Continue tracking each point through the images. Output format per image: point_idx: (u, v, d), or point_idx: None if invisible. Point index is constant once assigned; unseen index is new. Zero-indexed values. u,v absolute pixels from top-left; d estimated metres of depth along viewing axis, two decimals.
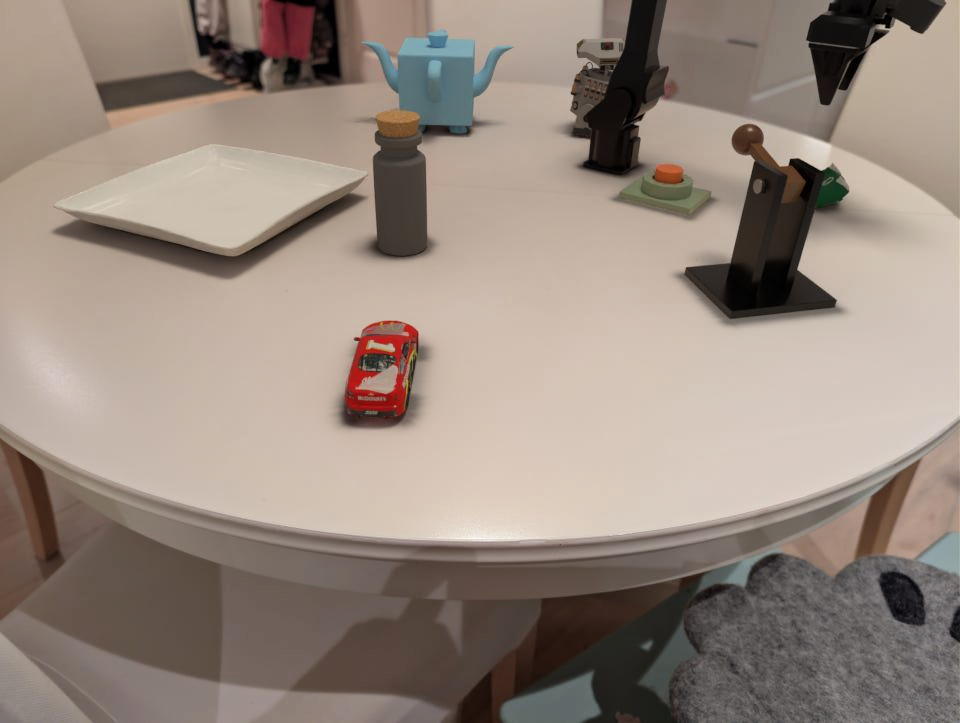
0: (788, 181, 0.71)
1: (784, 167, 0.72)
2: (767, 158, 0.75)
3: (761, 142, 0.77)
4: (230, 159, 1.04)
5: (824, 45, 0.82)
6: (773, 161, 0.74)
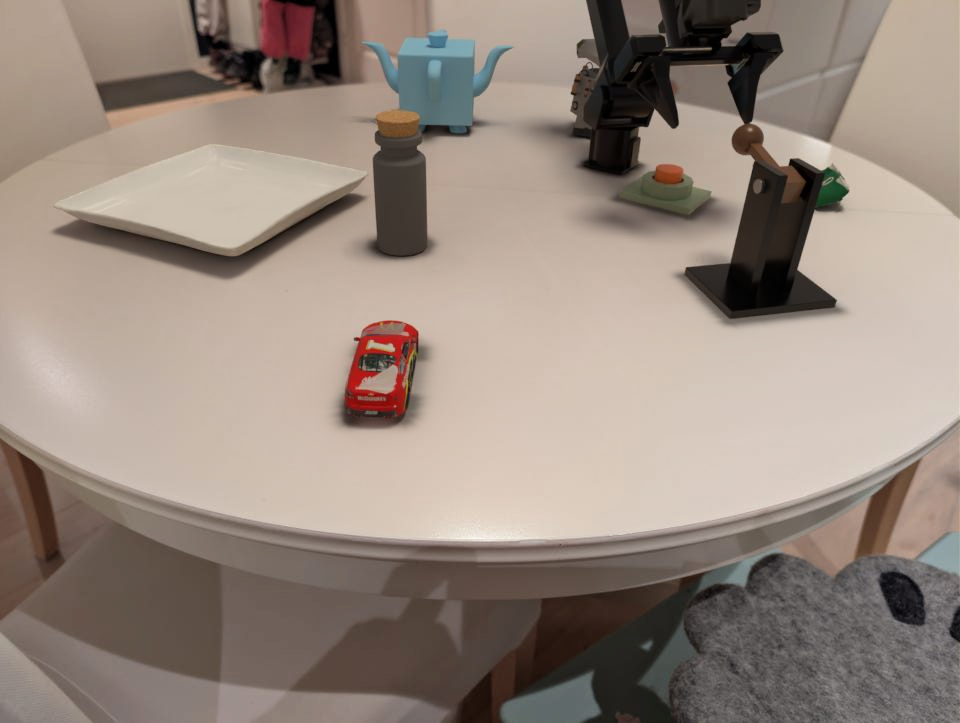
0: (788, 181, 0.71)
1: (784, 167, 0.72)
2: (767, 158, 0.75)
3: (761, 142, 0.77)
4: (230, 159, 1.04)
5: (632, 77, 0.85)
6: (773, 161, 0.74)
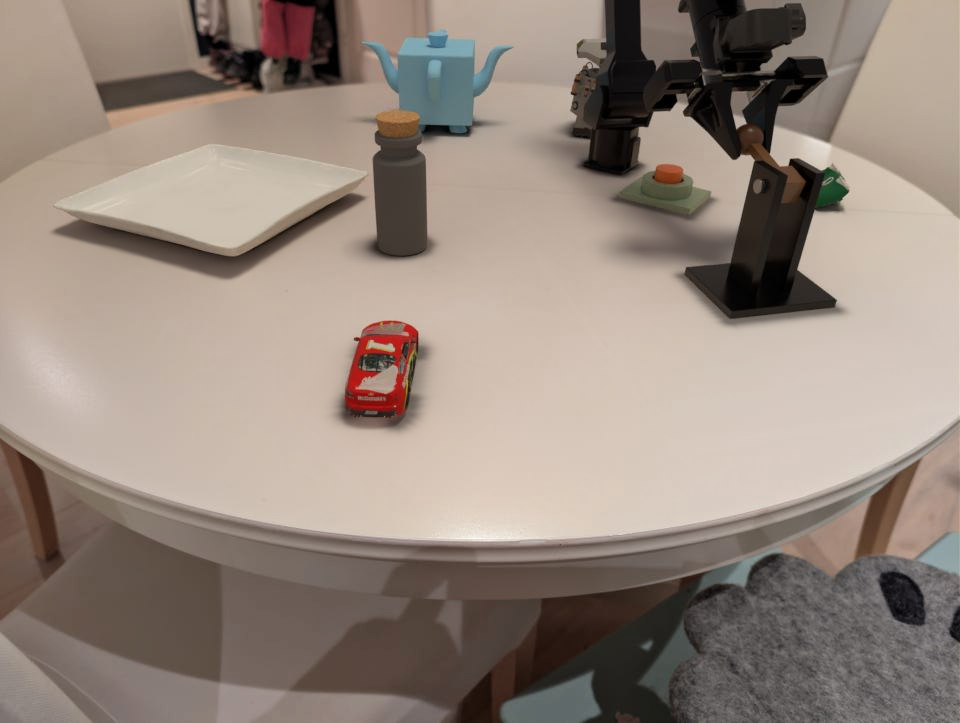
0: (788, 181, 0.71)
1: (784, 167, 0.72)
2: (767, 158, 0.75)
3: (761, 142, 0.77)
4: (230, 159, 1.04)
5: (689, 104, 0.79)
6: (773, 161, 0.74)
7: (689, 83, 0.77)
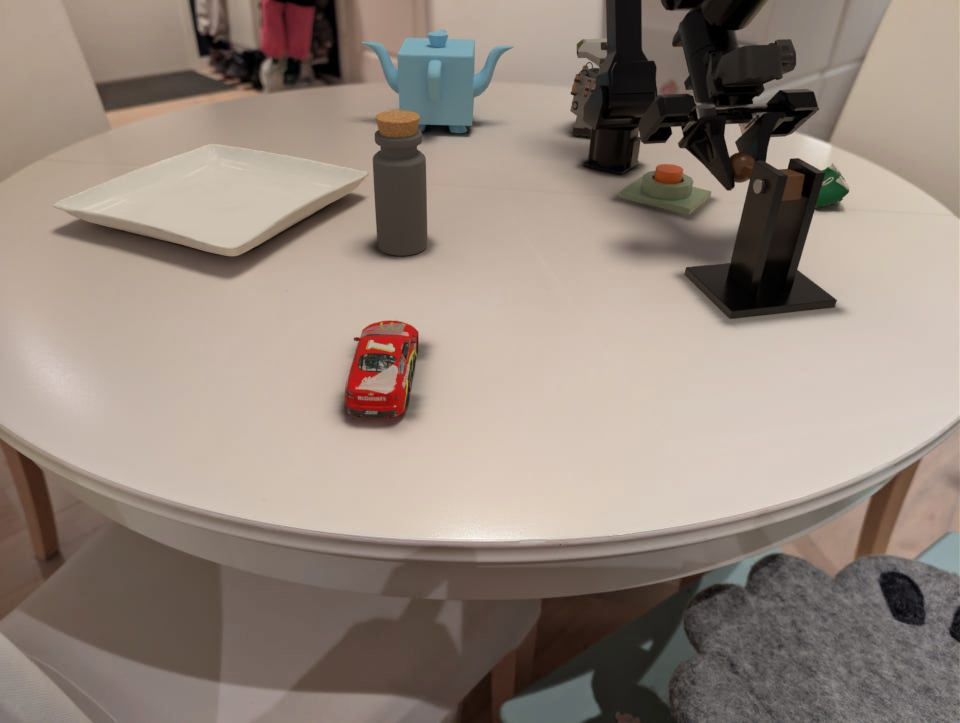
0: None
1: (780, 169, 0.73)
2: None
3: None
4: (230, 159, 1.04)
5: (683, 136, 0.80)
6: None
7: (683, 116, 0.79)
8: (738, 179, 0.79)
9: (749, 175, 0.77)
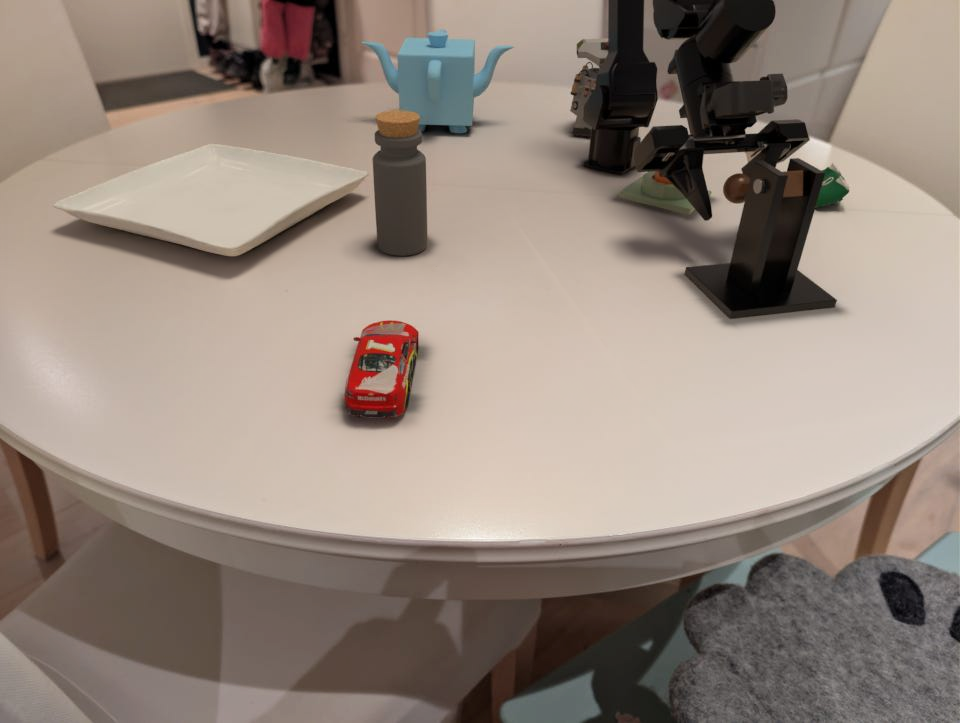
0: None
1: None
2: None
3: None
4: (230, 159, 1.04)
5: (663, 166, 0.82)
6: None
7: None
8: (738, 198, 0.79)
9: None
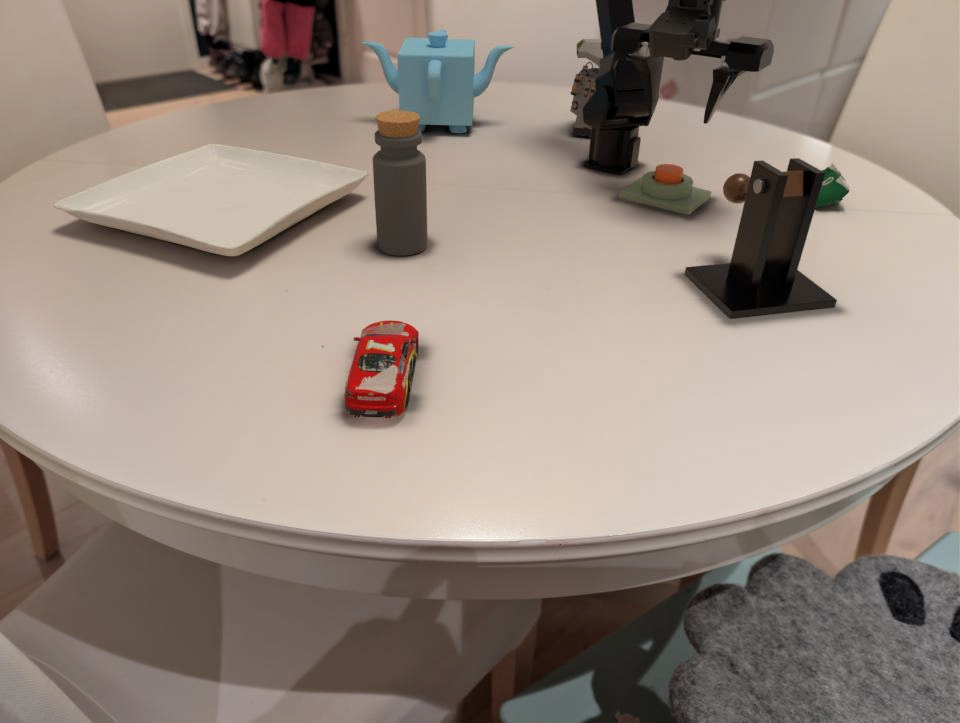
0: None
1: None
2: None
3: None
4: (230, 159, 1.04)
5: None
6: None
7: None
8: (738, 198, 0.79)
9: None
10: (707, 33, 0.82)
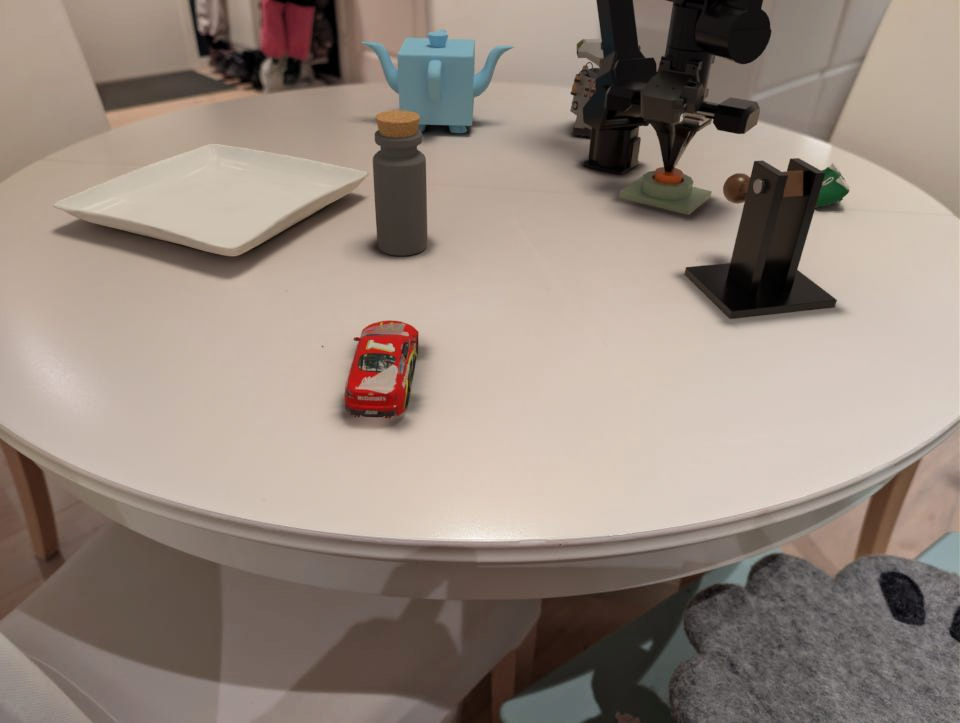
0: None
1: None
2: None
3: None
4: (230, 159, 1.04)
5: None
6: None
7: (638, 100, 0.96)
8: (738, 198, 0.79)
9: None
10: (695, 99, 0.86)
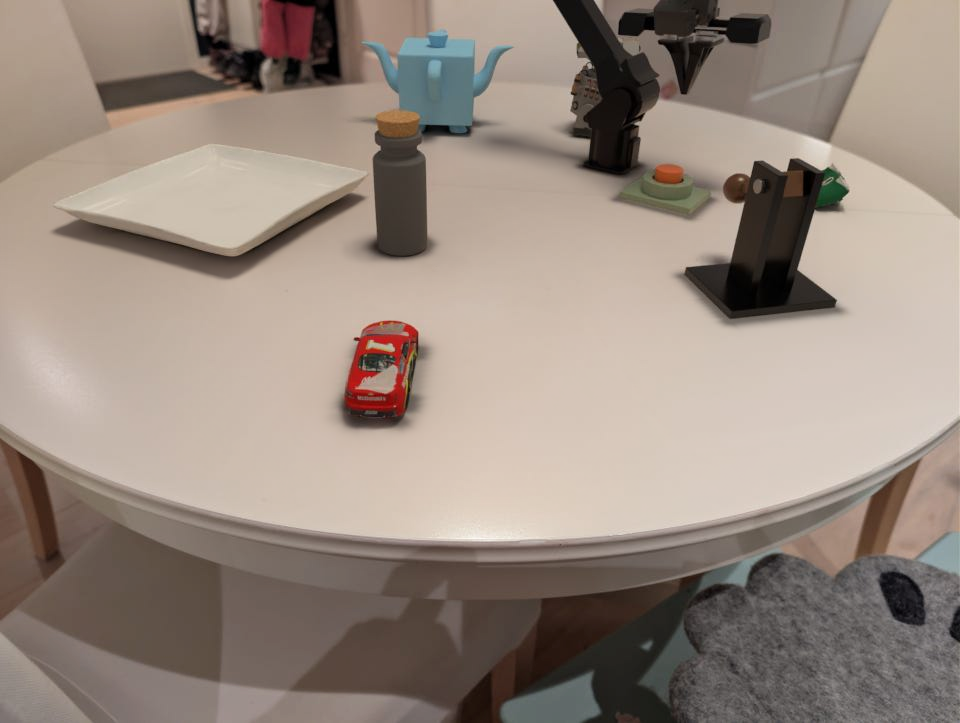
0: None
1: None
2: None
3: None
4: (230, 159, 1.04)
5: None
6: None
7: (651, 25, 0.99)
8: (738, 198, 0.79)
9: None
10: (707, 9, 0.88)
